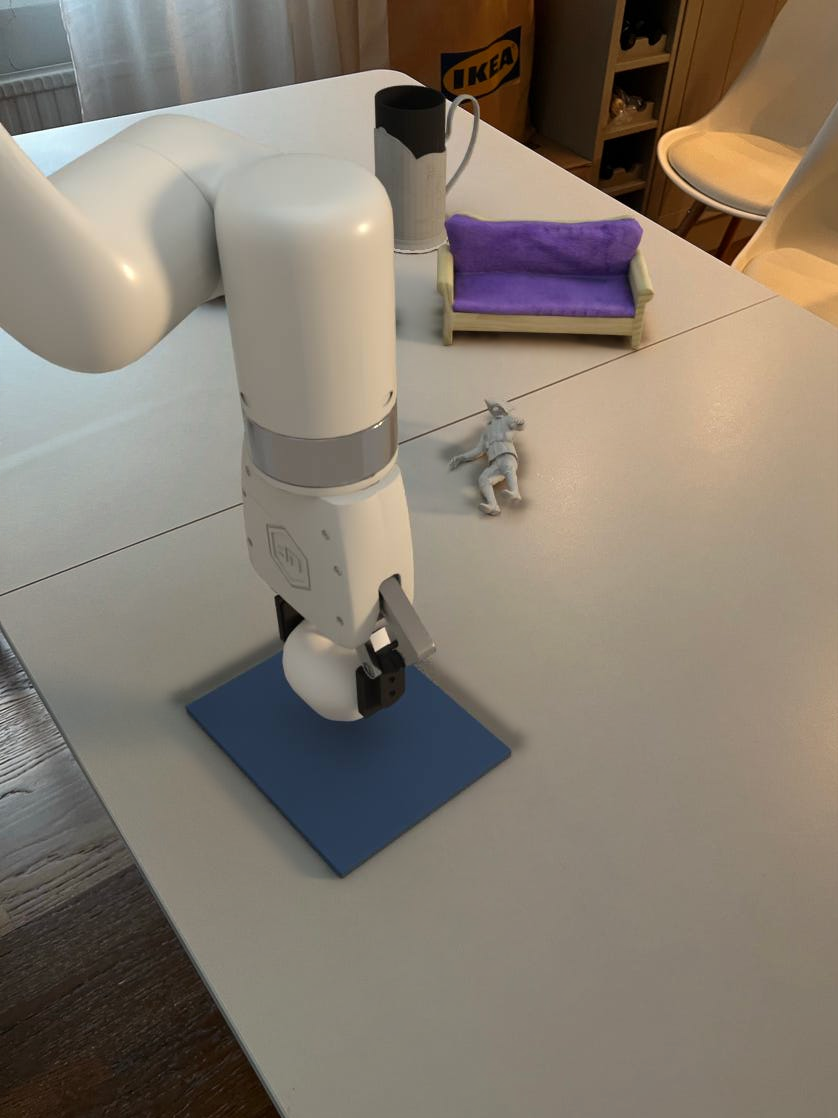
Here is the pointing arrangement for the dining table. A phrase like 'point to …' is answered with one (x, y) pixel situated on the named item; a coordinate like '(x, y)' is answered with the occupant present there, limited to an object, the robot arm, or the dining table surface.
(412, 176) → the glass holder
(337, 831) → the blue square board
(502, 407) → the soldier figure
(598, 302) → the toy sofa
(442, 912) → the dining table surface
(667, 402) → the dining table surface
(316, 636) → the plain white apple
